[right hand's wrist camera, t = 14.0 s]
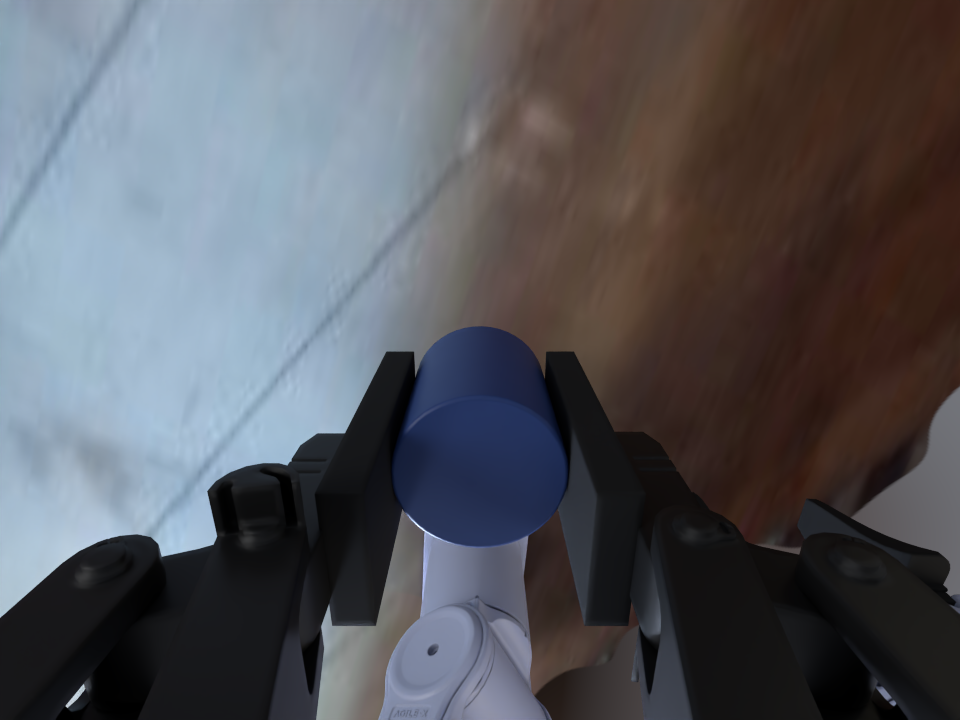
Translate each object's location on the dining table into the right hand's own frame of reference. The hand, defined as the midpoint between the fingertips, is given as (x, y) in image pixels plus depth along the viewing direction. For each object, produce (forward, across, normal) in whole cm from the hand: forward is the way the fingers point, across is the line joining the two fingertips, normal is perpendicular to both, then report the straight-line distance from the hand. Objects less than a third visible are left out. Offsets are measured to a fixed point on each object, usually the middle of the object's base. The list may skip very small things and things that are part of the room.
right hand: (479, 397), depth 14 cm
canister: (0, 0, 0) cm, 0 cm away
